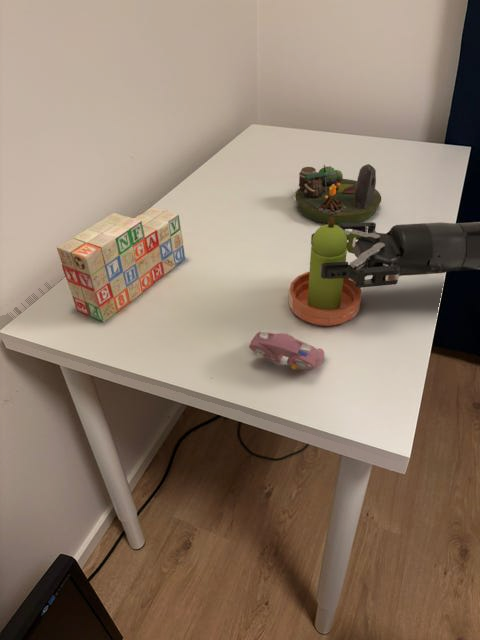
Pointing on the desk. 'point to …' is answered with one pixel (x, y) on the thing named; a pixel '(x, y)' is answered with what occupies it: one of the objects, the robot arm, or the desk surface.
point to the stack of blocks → (120, 259)
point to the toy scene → (337, 195)
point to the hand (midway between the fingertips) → (316, 255)
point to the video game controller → (286, 350)
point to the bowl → (320, 316)
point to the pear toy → (326, 249)
